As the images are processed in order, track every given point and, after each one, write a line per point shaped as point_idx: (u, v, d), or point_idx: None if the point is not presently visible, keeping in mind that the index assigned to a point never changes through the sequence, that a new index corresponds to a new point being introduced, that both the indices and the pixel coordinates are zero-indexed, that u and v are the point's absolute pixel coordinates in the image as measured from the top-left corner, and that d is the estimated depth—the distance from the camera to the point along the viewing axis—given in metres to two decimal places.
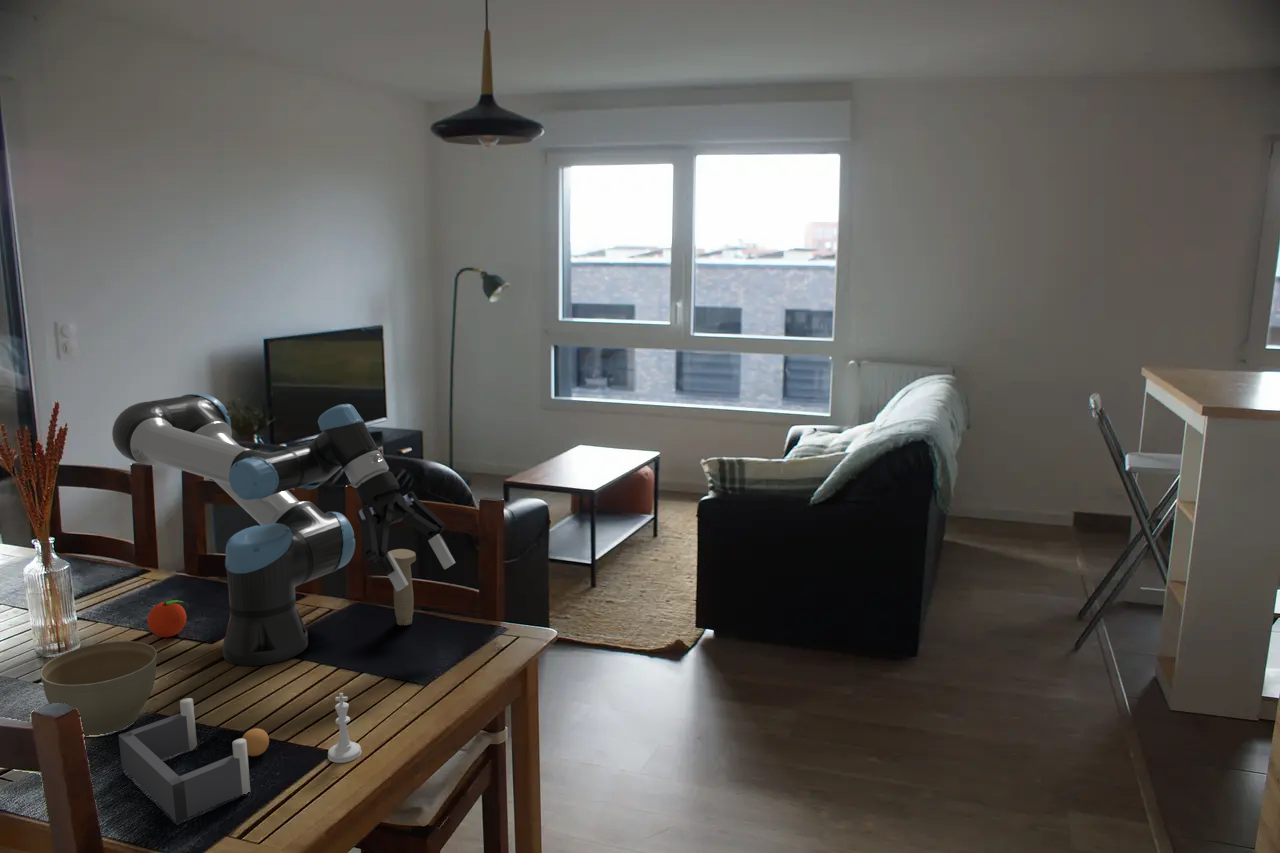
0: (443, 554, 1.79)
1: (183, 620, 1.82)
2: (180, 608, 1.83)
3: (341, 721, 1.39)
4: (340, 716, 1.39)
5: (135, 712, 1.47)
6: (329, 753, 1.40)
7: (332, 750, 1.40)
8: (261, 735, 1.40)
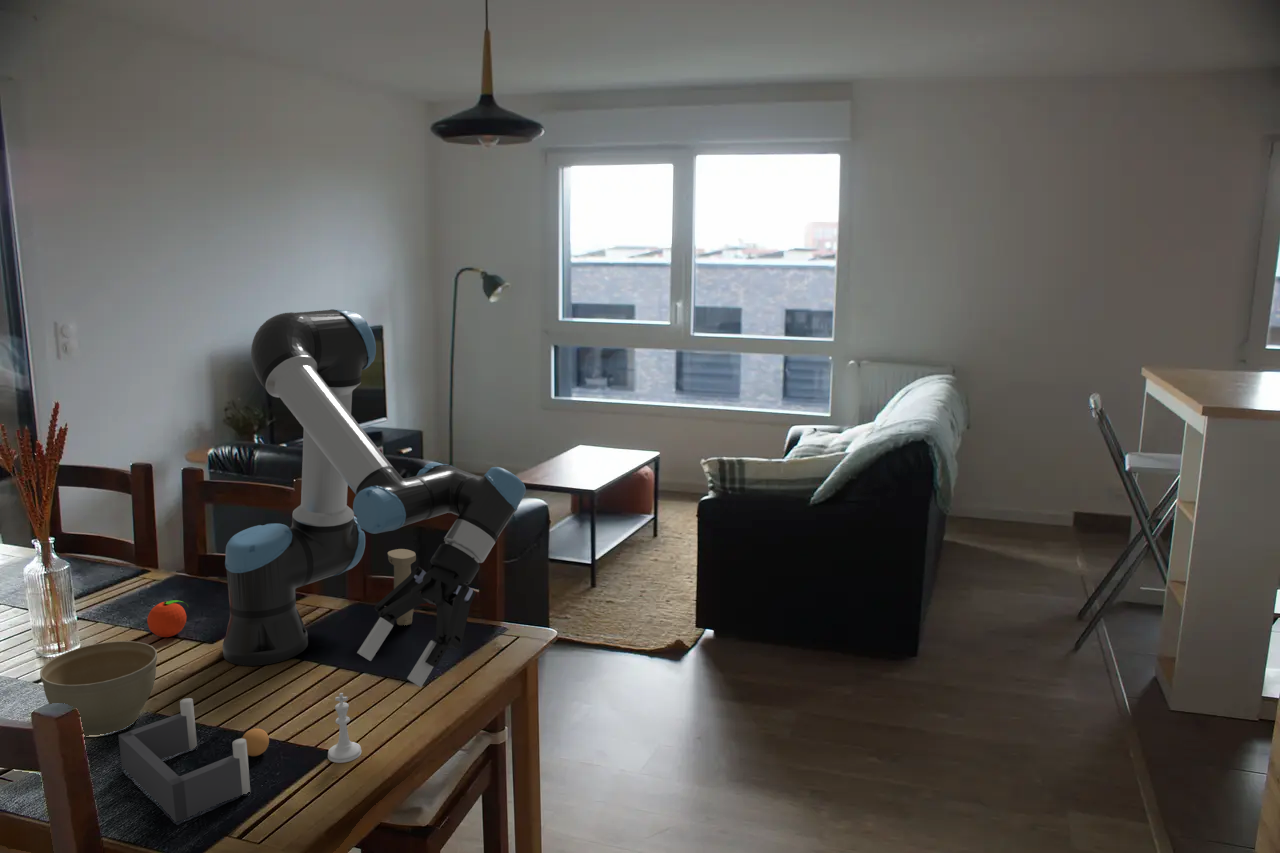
0: (375, 644, 1.49)
1: (183, 620, 1.82)
2: (180, 608, 1.83)
3: (341, 721, 1.39)
4: (340, 716, 1.39)
5: (135, 712, 1.47)
6: (329, 753, 1.40)
7: (332, 750, 1.40)
8: (261, 735, 1.40)
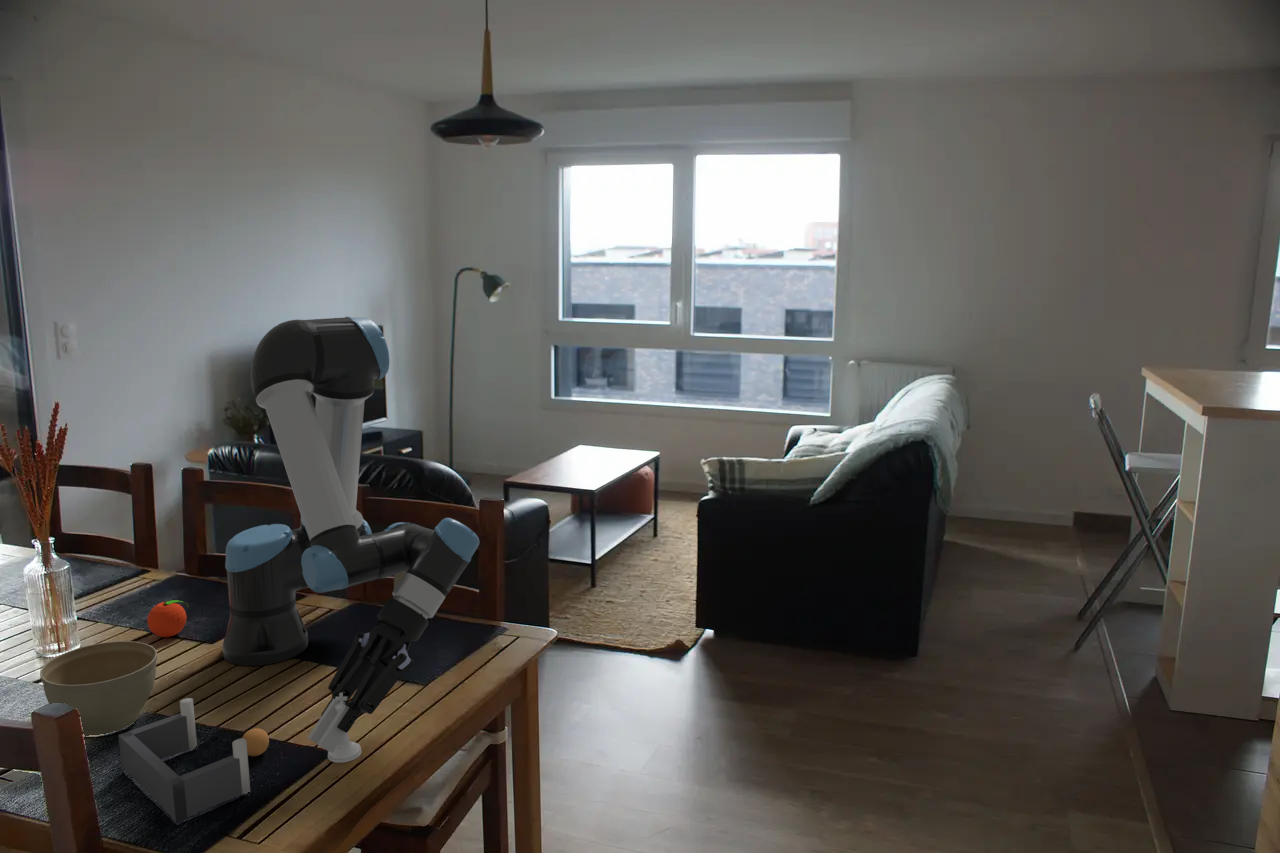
0: (327, 728, 1.39)
1: (183, 620, 1.82)
2: (180, 608, 1.83)
3: None
4: None
5: (135, 712, 1.47)
6: (329, 753, 1.40)
7: None
8: (261, 735, 1.40)
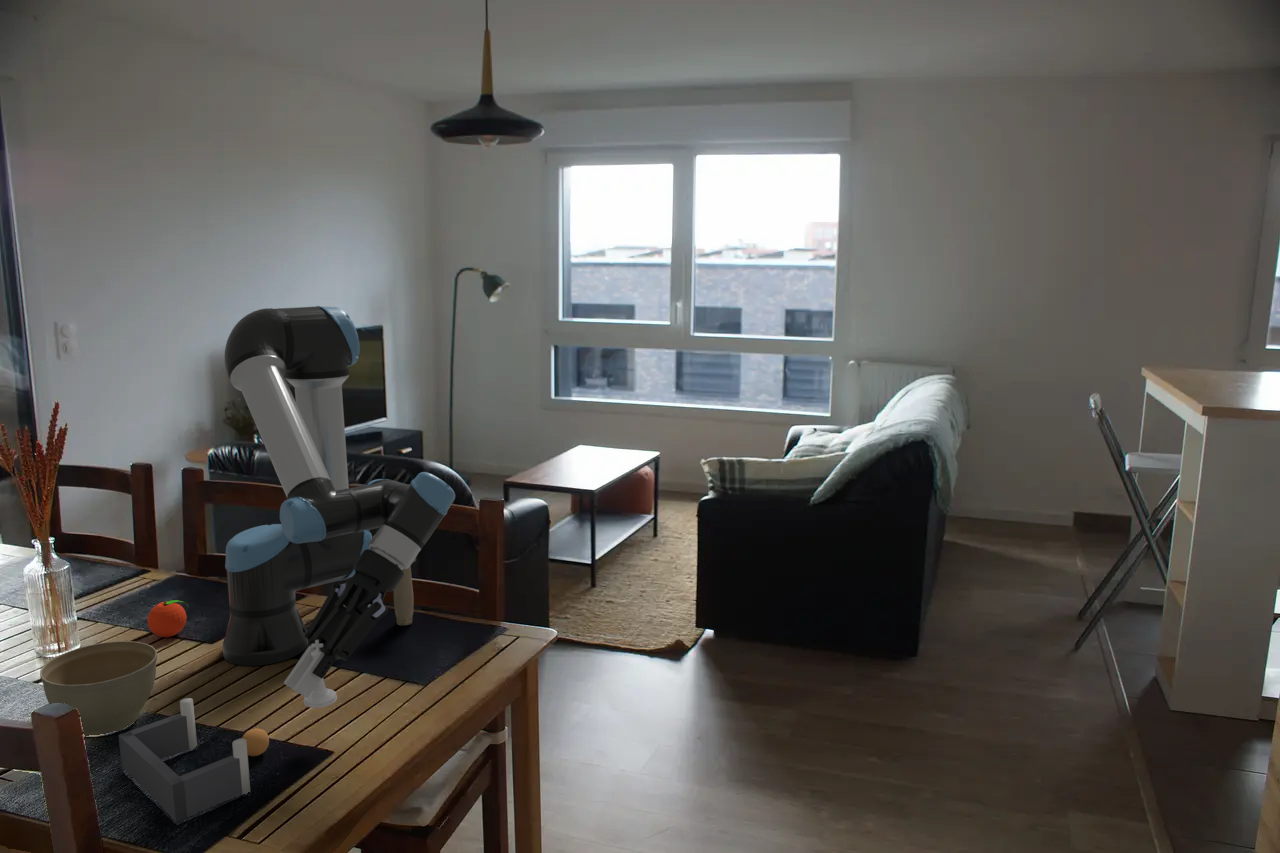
0: (303, 674, 1.42)
1: (183, 620, 1.82)
2: (180, 608, 1.83)
3: None
4: None
5: (135, 712, 1.47)
6: (305, 699, 1.43)
7: None
8: (261, 735, 1.40)
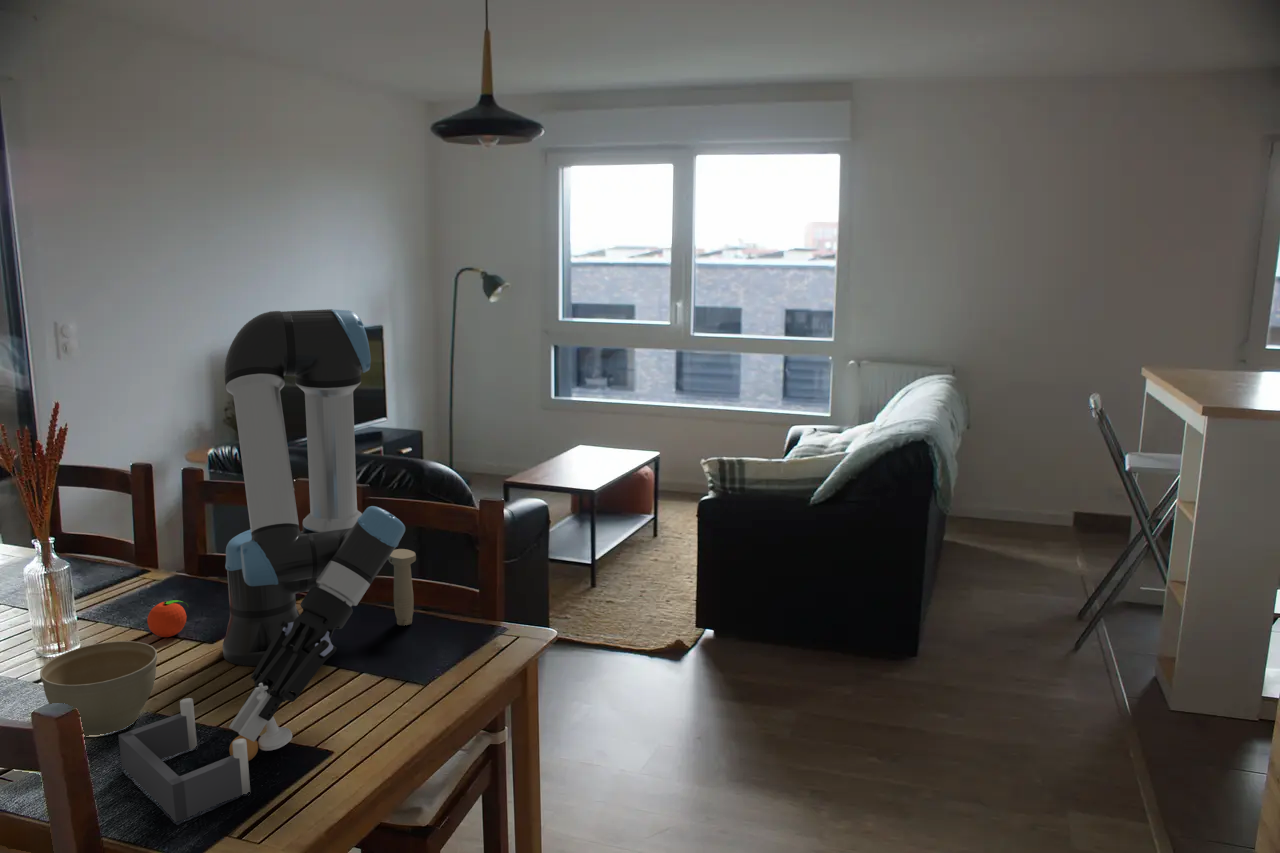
0: (249, 717, 1.39)
1: (183, 620, 1.82)
2: (180, 608, 1.83)
3: None
4: None
5: (135, 712, 1.47)
6: (259, 742, 1.40)
7: (262, 738, 1.40)
8: None
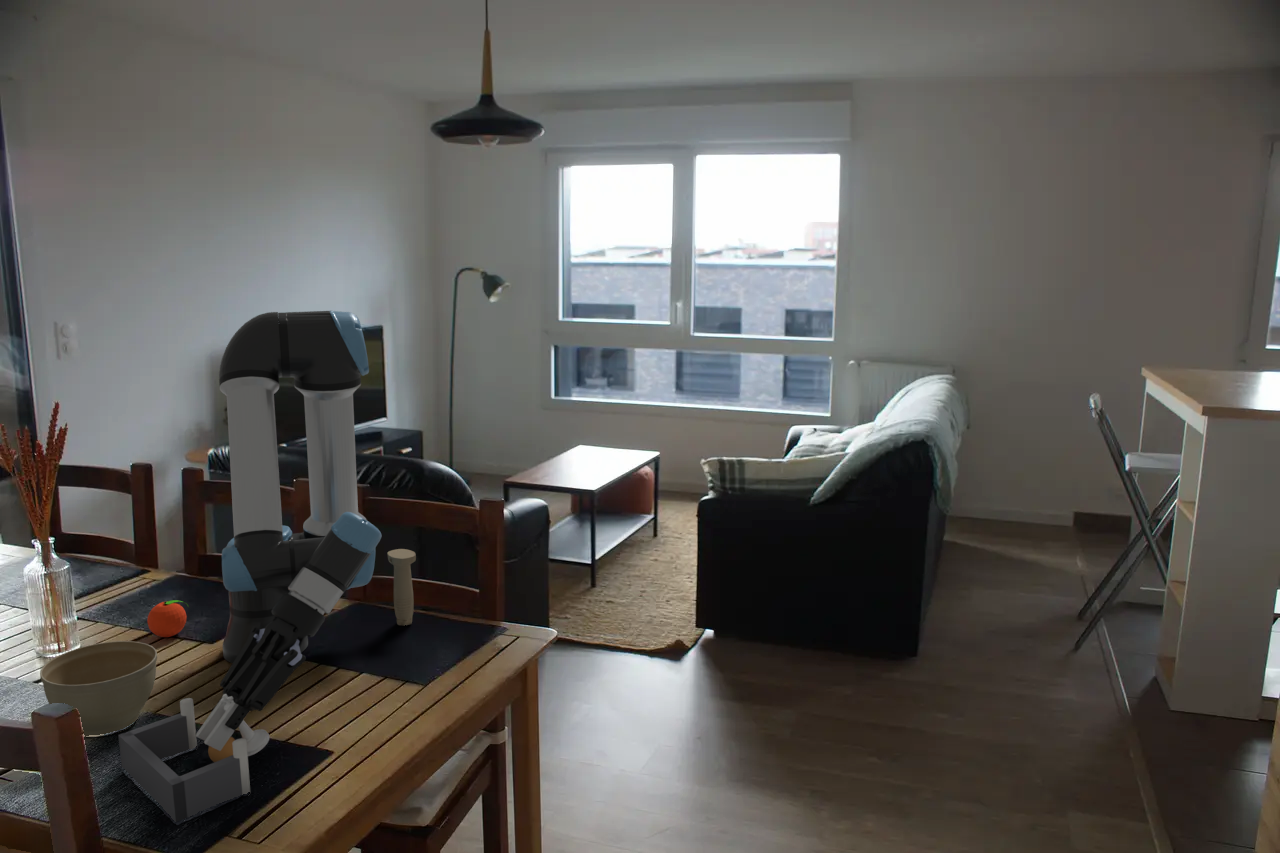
0: None
1: (183, 620, 1.82)
2: (180, 608, 1.83)
3: None
4: None
5: (135, 712, 1.47)
6: None
7: None
8: (216, 754, 1.36)
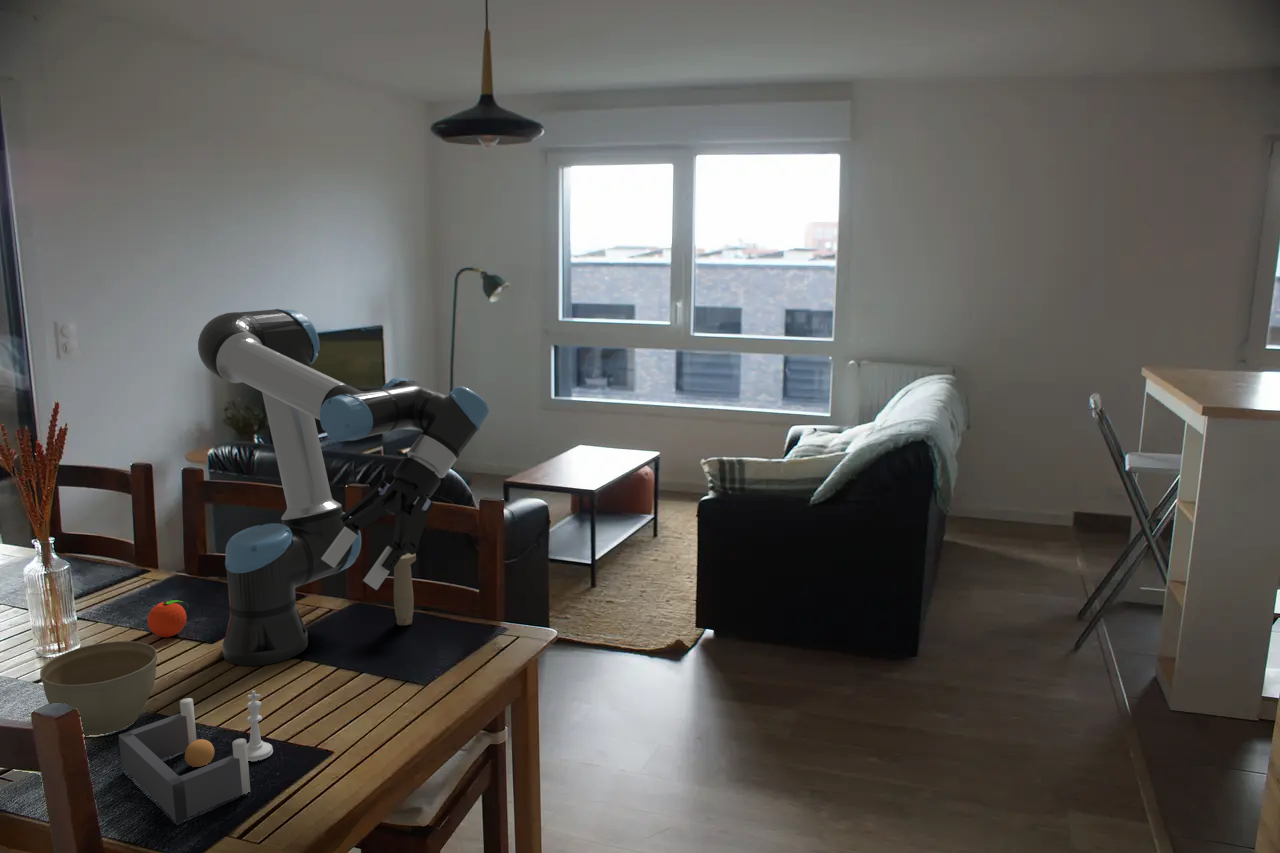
0: (339, 552, 1.55)
1: (183, 620, 1.82)
2: (180, 608, 1.83)
3: (253, 719, 1.39)
4: (252, 714, 1.39)
5: (135, 712, 1.47)
6: None
7: None
8: (193, 766, 1.36)
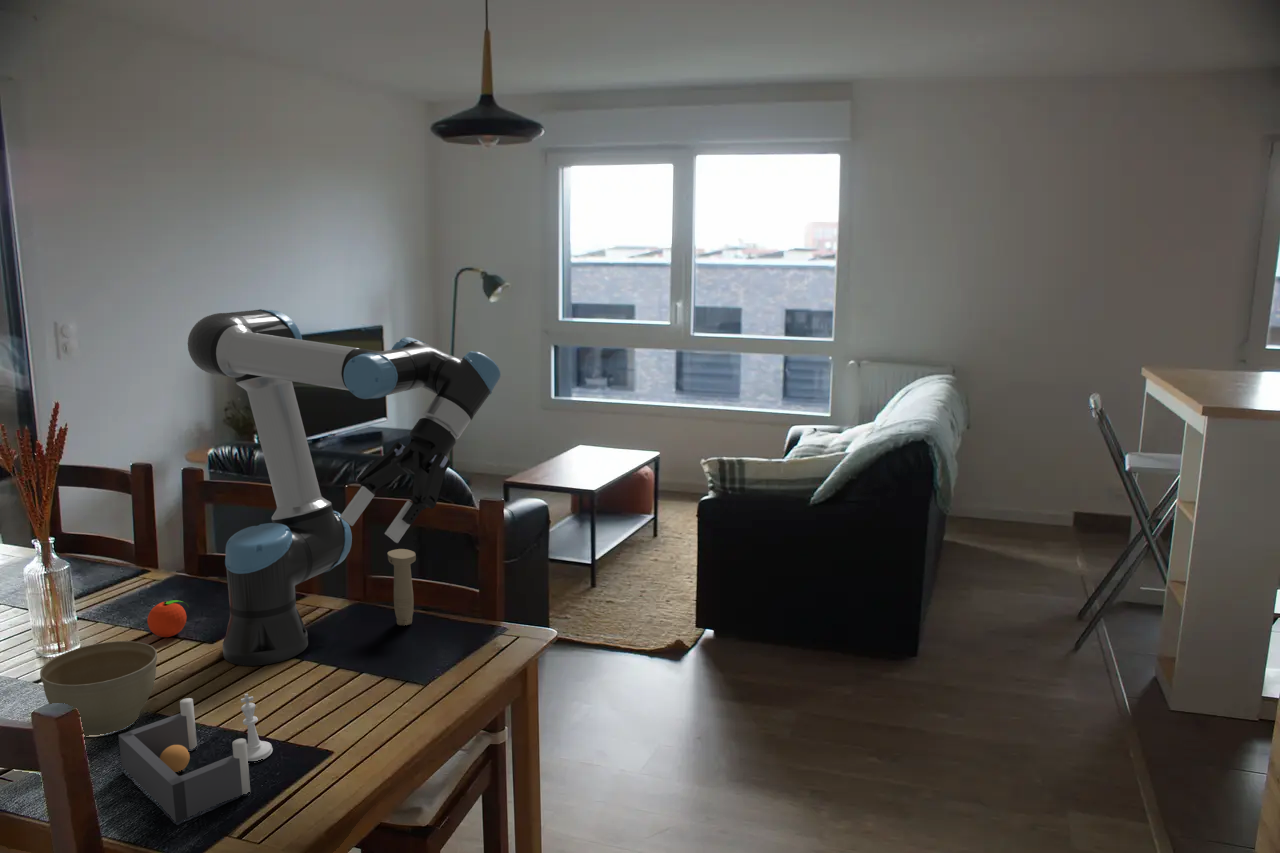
0: (357, 510, 1.60)
1: (183, 620, 1.82)
2: (180, 608, 1.83)
3: (250, 721, 1.39)
4: (248, 717, 1.39)
5: (135, 712, 1.47)
6: None
7: None
8: (184, 766, 1.35)
